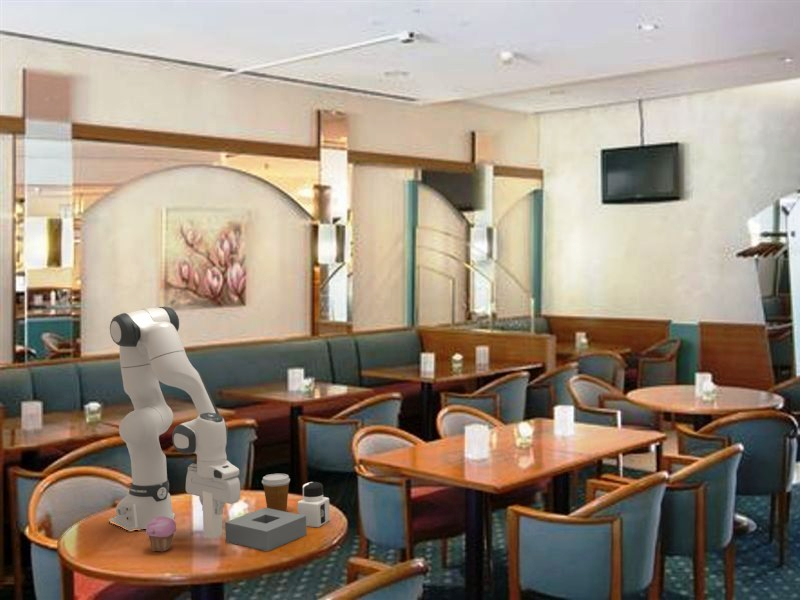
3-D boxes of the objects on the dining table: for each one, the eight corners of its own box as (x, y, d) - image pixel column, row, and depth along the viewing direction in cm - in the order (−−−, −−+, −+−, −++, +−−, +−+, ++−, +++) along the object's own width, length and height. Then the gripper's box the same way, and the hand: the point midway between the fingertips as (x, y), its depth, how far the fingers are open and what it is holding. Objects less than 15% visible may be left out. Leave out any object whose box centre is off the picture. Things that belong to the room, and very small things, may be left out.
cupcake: (155, 544, 277) (153, 512, 276) (181, 545, 276) (180, 512, 275) (142, 554, 268) (140, 521, 268) (169, 555, 267) (168, 522, 266)
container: (330, 520, 296) (328, 481, 295) (318, 527, 289) (317, 487, 288) (309, 518, 299) (308, 479, 298) (297, 525, 292) (296, 485, 291)
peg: (203, 536, 273) (202, 490, 272) (213, 532, 276) (212, 487, 275) (212, 538, 271) (211, 493, 270) (222, 535, 274) (221, 489, 273)
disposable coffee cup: (270, 506, 313) (269, 472, 312) (295, 508, 310) (294, 474, 309) (258, 514, 304) (256, 479, 303) (283, 516, 301) (282, 481, 300)
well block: (225, 541, 278) (225, 522, 278) (265, 525, 292) (264, 507, 292) (267, 551, 268) (266, 531, 267) (306, 534, 282) (305, 515, 282)
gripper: (180, 464, 275) (180, 509, 276) (228, 475, 264) (228, 521, 265) (195, 460, 281) (196, 504, 282) (243, 470, 269) (244, 516, 270)
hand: (212, 512), depth 273 cm, fingers closed on peg, 4 cm apart
